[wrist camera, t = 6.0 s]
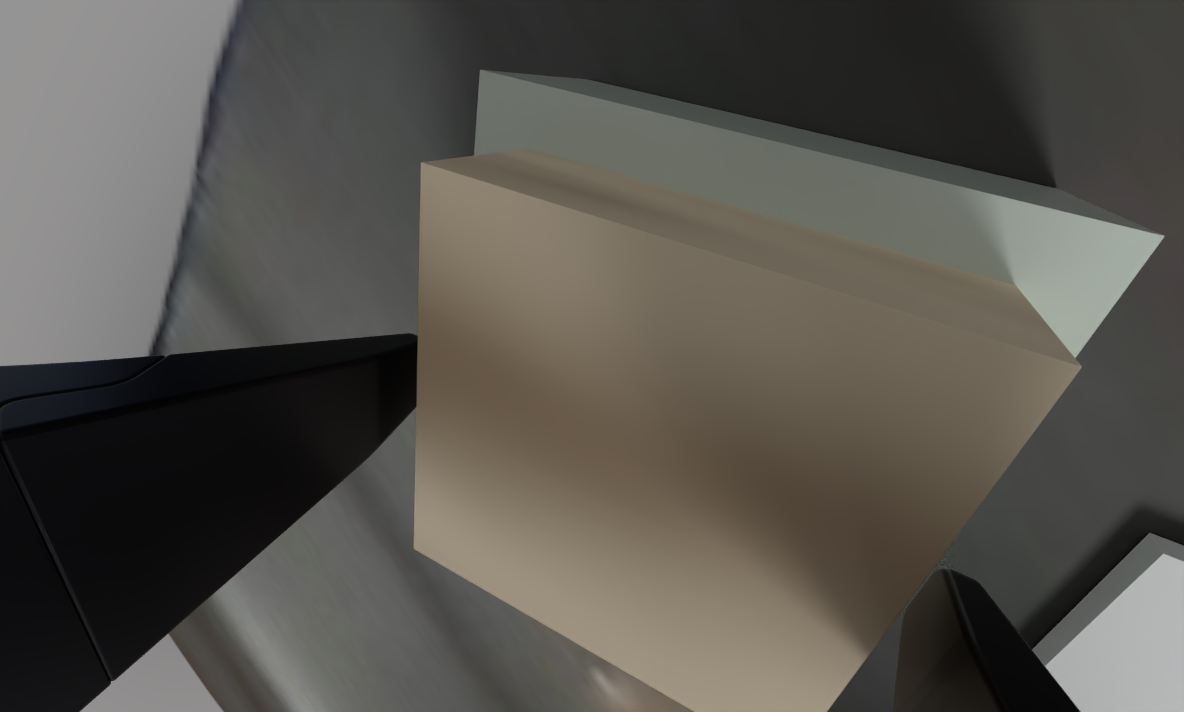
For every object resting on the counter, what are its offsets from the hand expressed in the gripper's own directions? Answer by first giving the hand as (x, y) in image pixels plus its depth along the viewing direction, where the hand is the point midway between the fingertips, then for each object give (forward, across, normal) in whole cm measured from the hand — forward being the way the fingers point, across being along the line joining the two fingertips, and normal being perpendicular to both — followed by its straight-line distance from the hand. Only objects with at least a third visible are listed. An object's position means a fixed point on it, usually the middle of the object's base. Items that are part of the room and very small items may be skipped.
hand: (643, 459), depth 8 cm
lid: (+2, 0, 0) cm, 2 cm away
